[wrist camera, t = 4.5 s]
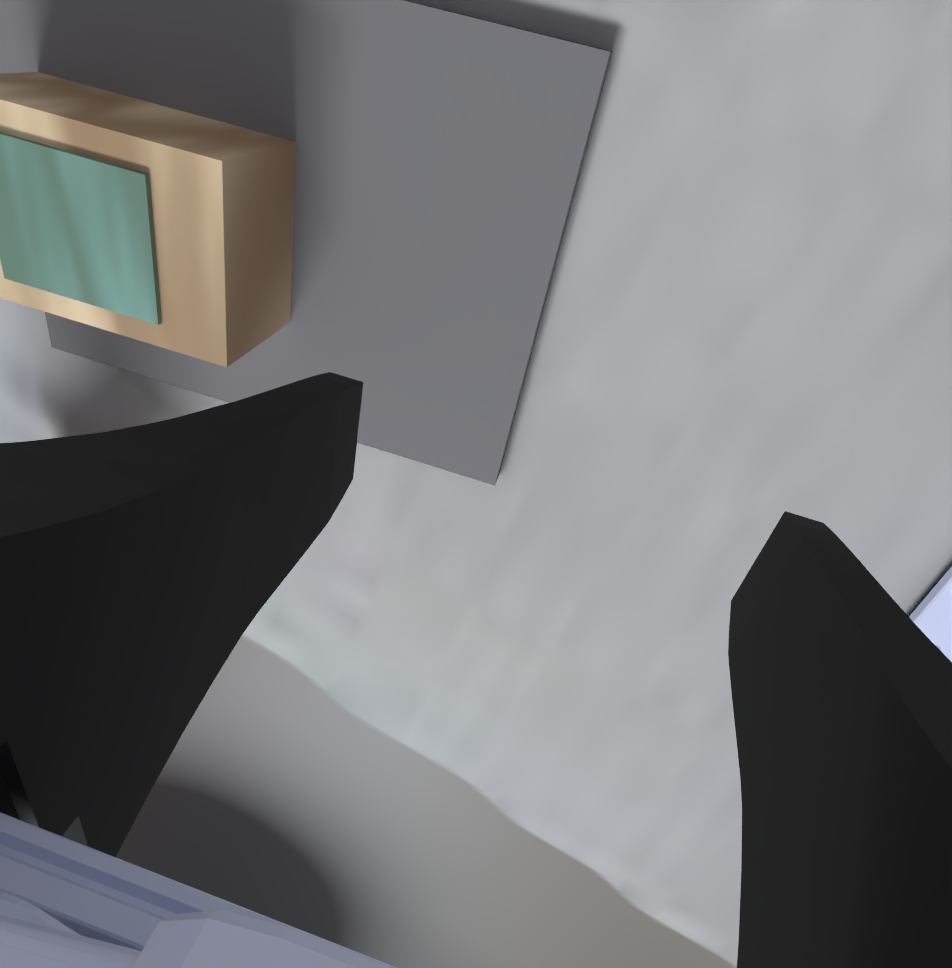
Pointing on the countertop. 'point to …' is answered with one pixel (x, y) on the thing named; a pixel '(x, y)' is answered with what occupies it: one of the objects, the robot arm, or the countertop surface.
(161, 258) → the oak block
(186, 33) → the mat
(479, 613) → the countertop surface
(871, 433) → the countertop surface
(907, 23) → the countertop surface
